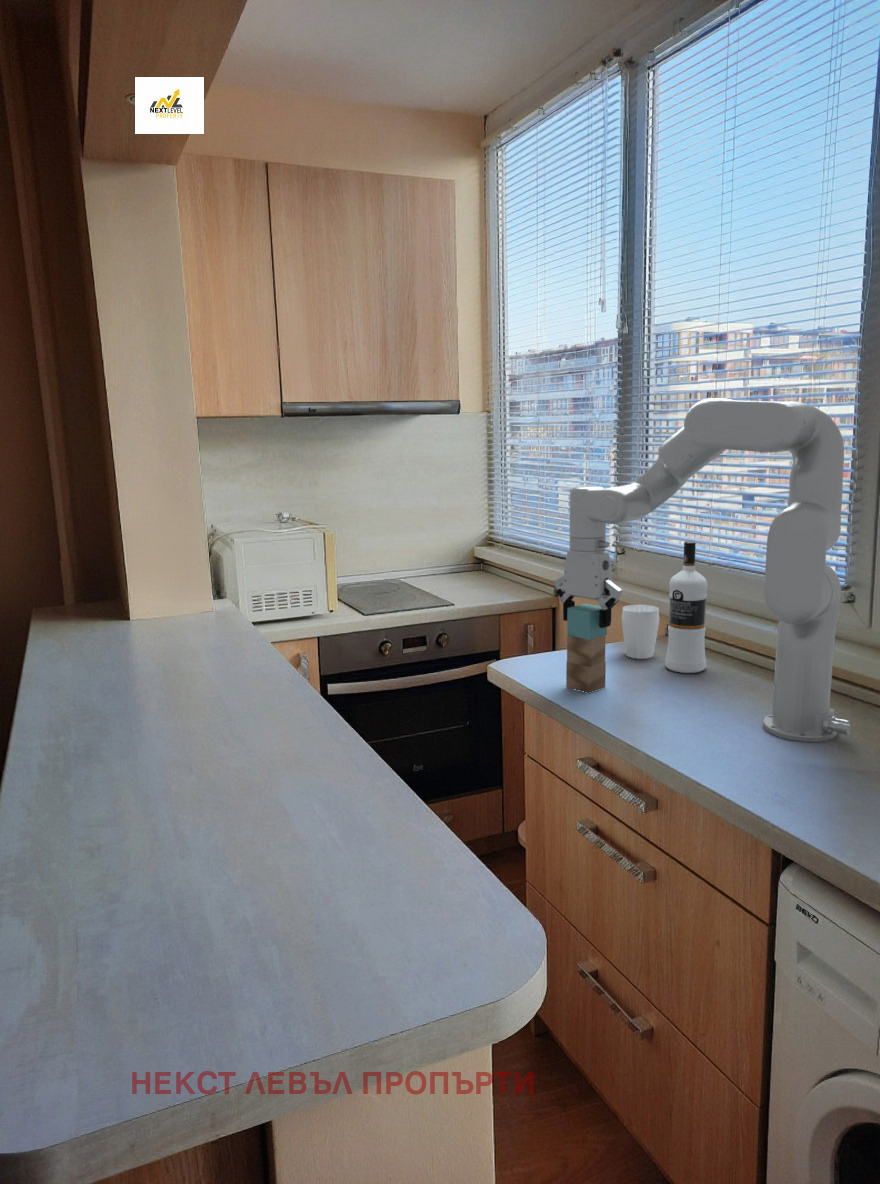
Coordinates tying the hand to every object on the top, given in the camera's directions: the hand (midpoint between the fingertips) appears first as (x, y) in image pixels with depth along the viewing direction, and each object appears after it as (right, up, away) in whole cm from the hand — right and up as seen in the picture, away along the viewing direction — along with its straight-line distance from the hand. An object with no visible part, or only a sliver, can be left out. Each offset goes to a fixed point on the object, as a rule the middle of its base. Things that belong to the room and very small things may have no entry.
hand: (586, 623), depth 176 cm
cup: (+18, -9, +26) cm, 33 cm away
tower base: (0, -14, +3) cm, 15 cm away
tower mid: (0, -8, +2) cm, 9 cm away
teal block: (0, -3, 0) cm, 3 cm away
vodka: (+26, -11, +15) cm, 32 cm away
